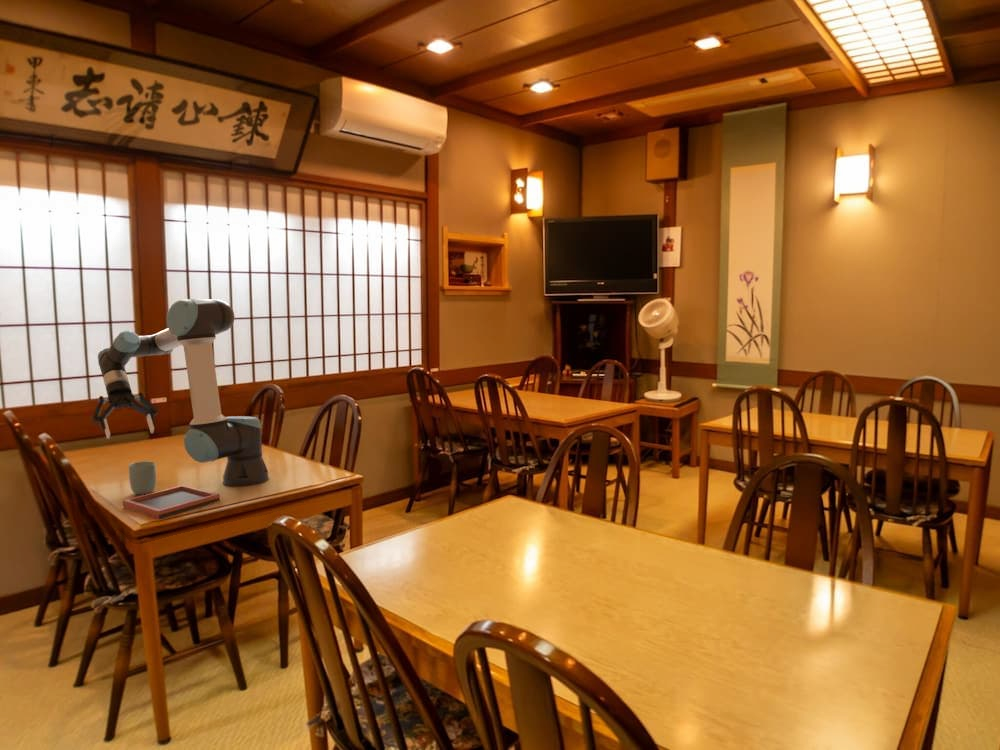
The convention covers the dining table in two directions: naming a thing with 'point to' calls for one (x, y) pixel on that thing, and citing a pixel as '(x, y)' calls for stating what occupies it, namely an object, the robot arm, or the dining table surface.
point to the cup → (142, 477)
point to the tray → (171, 501)
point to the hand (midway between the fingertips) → (131, 433)
